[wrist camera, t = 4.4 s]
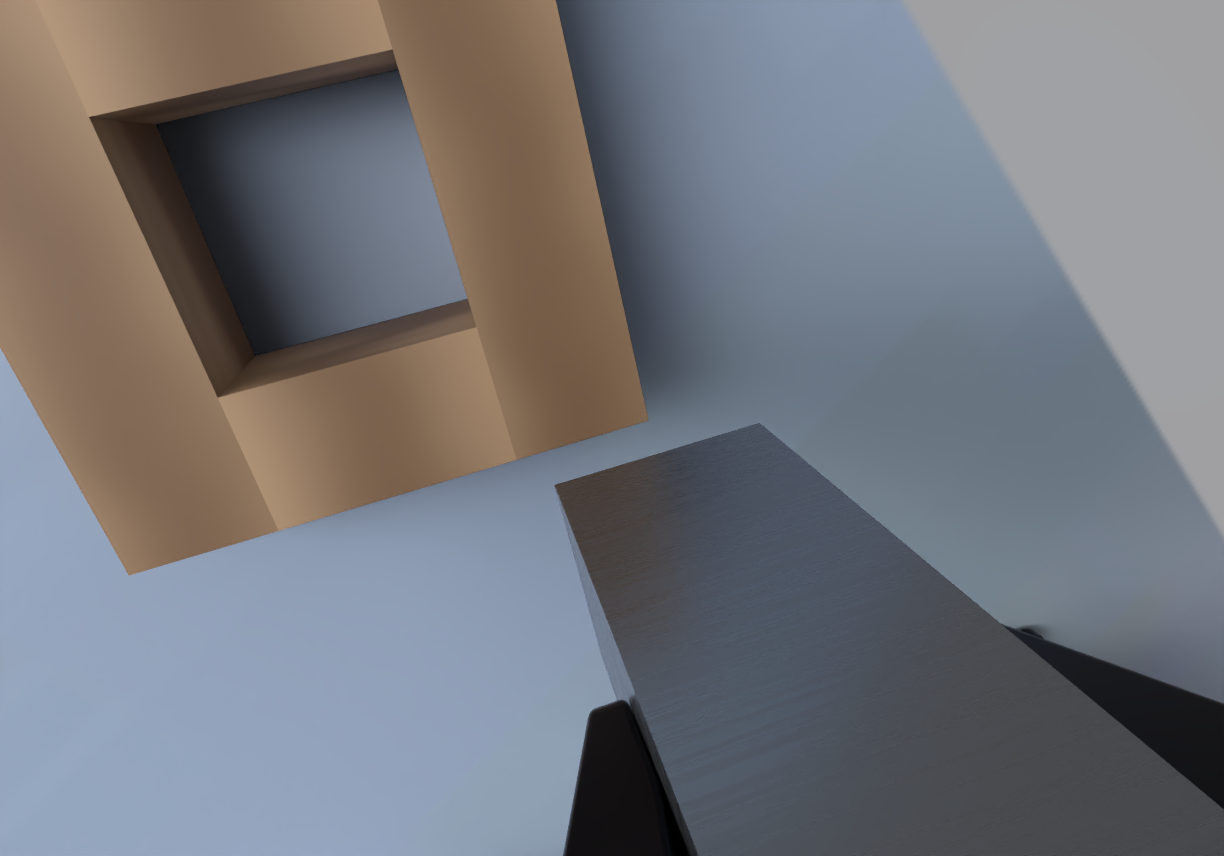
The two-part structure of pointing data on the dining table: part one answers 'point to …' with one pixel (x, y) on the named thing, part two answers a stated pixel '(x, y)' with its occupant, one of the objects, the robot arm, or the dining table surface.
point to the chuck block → (201, 307)
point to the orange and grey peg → (842, 679)
